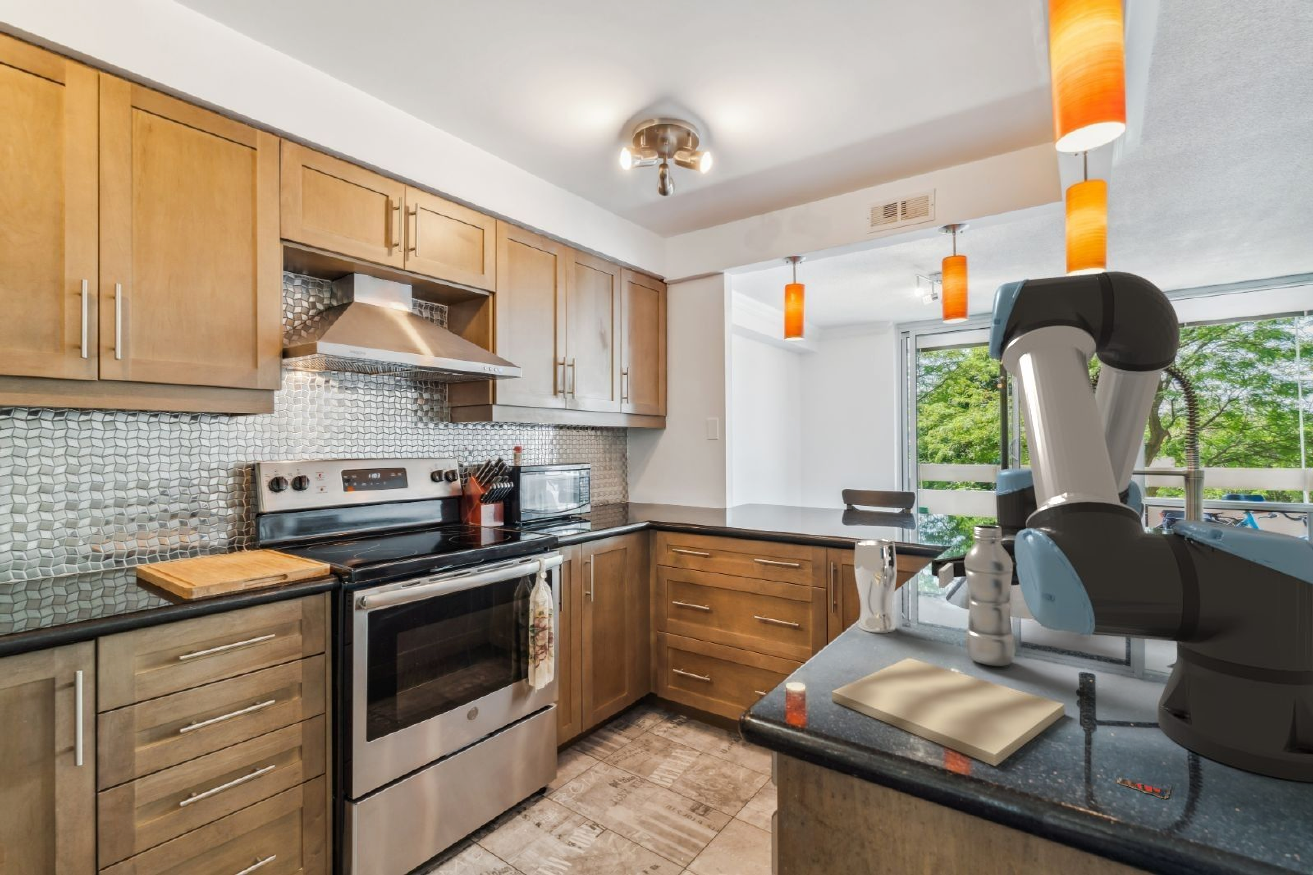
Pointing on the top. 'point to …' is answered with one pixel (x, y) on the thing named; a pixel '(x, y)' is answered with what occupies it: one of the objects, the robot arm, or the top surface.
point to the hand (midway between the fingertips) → (989, 585)
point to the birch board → (951, 708)
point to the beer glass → (876, 583)
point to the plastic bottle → (989, 598)
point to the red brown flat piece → (1146, 788)
